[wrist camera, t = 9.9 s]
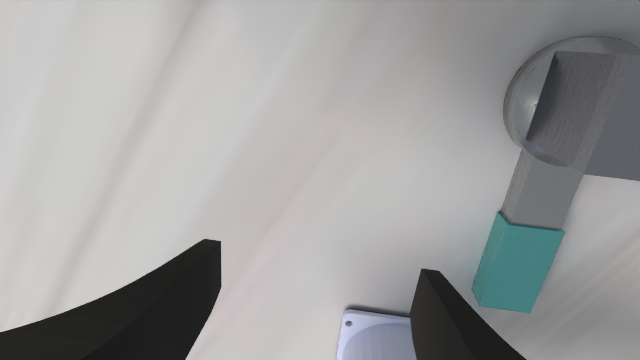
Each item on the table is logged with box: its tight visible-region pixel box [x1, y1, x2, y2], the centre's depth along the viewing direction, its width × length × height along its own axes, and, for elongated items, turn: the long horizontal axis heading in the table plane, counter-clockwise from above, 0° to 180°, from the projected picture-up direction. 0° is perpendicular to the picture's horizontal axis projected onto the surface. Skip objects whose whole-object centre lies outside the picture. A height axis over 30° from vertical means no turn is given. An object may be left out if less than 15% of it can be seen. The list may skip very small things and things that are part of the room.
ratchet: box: [472, 37, 640, 313], centre depth 19 cm, size 16×6×4 cm, turn 174°
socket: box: [525, 50, 640, 181], centre depth 15 cm, size 4×4×5 cm
